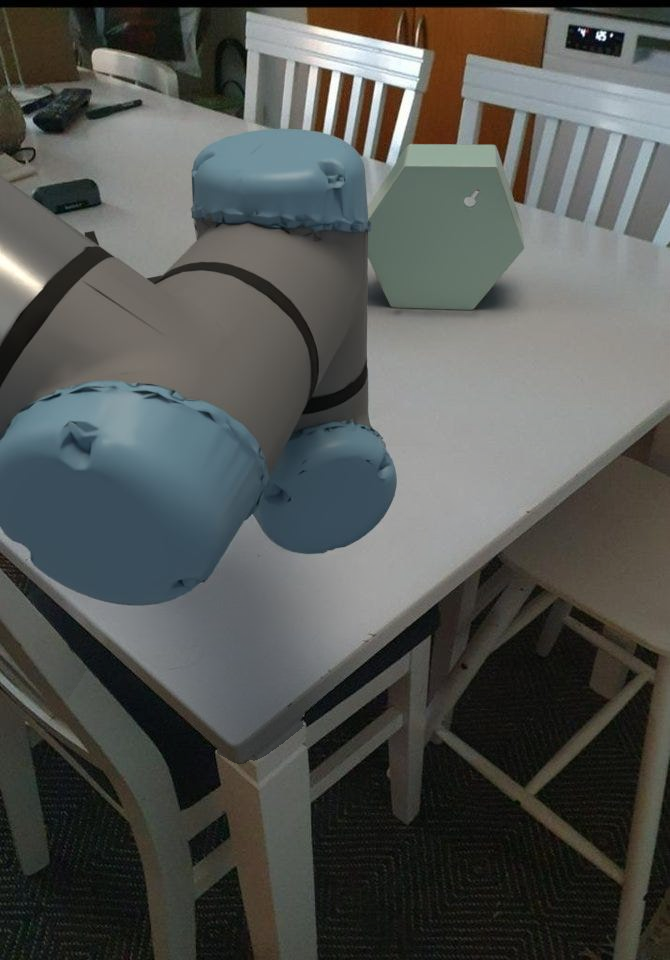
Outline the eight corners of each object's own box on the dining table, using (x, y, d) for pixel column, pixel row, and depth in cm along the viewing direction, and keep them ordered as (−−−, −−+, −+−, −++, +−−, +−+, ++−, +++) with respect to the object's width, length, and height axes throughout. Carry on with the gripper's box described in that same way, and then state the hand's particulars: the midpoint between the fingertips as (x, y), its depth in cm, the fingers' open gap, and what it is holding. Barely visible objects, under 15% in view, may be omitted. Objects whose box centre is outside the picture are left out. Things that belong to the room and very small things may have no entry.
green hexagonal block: (447, 313, 109) (551, 185, 97) (446, 342, 103) (557, 209, 91) (341, 245, 105) (436, 102, 92) (333, 270, 99) (434, 121, 86)
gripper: (59, 452, 50) (31, 304, 65) (426, 368, 56) (322, 251, 72) (26, 346, 45) (5, 213, 60) (431, 267, 51) (319, 165, 67)
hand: (176, 233), depth 66 cm, fingers open, 13 cm apart
